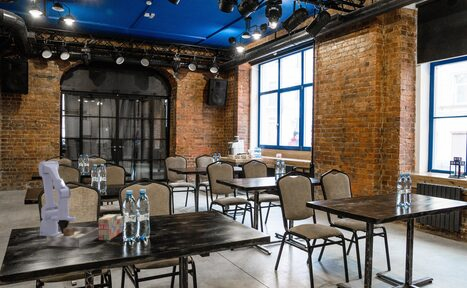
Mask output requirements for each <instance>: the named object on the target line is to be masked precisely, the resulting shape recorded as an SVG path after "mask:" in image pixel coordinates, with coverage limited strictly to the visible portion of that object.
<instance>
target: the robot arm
mask: <svg viewBox="0 0 467 288" xmlns="http://www.w3.org/2000/svg"><path fill="white" fill-rule="evenodd" d="M59 165H60V164H59V161H57V160H52V161H40V162H39V163H38V167H37V168H38V174H39V177H41V178H42V183H43V191H44V200H45V201H44V202H45V204H44V205H43V206H42V207H41V209H40V211H41V212H40V216H41V217H40V218H41V219H42V220H41V221H40V222H39V237H41V236H43V237H47V236H58V235H60V234H63V229H64V228H67V227H69V223H70V222H76V221H77V217H76V216H70V197H71V195H72V194H71V189H70V188H69V187H68V186H67V185H66V184H65V181H64V179H63V178H61V177H60V175H59V173H60V172H59V169H60V166H59ZM54 189H55V195H54ZM55 197H56V198H55ZM55 199H56V202H57V203H56V202H55ZM59 229H60V231H59Z"/></svg>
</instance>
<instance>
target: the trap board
mask: <svg viewBox="0 0 467 288" xmlns="http://www.w3.org/2000/svg"><path fill="white" fill-rule="evenodd" d="M72 227H73V228H74V235H72V236H63V234H62V233H60V234H58V235H55V236H46V246H48V247H49V246H50V247H51V246H52V247H66V248H67V247H69V248H70V247H71V248H73V247H74V248H80V247H83V246H84V245H86V244H88V243H89V242H92V241H94V240H96V239H99V230H98V227H84V226H83V227H82V226H81V227H80V226H72Z"/></svg>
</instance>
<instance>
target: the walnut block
mask: <svg viewBox="0 0 467 288" xmlns="http://www.w3.org/2000/svg"><path fill="white" fill-rule="evenodd" d="M73 227H74V226H67V228H64V229H63V236H72V235H74V228H73Z"/></svg>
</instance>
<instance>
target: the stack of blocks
mask: <svg viewBox="0 0 467 288" xmlns="http://www.w3.org/2000/svg"><path fill="white" fill-rule="evenodd" d="M124 222H125V221H124V216H123V215H118V214H113V213H112V214H109V213H108V214H106V215H103V216H101V217H100V218H98V226H97V228H98V230H99V237H98V241H111V239H113V238H115V237H117V236H118V235H119V234H121V233H122V232H124V231H123V228H124V226H125V225H124V224H125V223H124ZM124 229H125V228H124Z"/></svg>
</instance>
